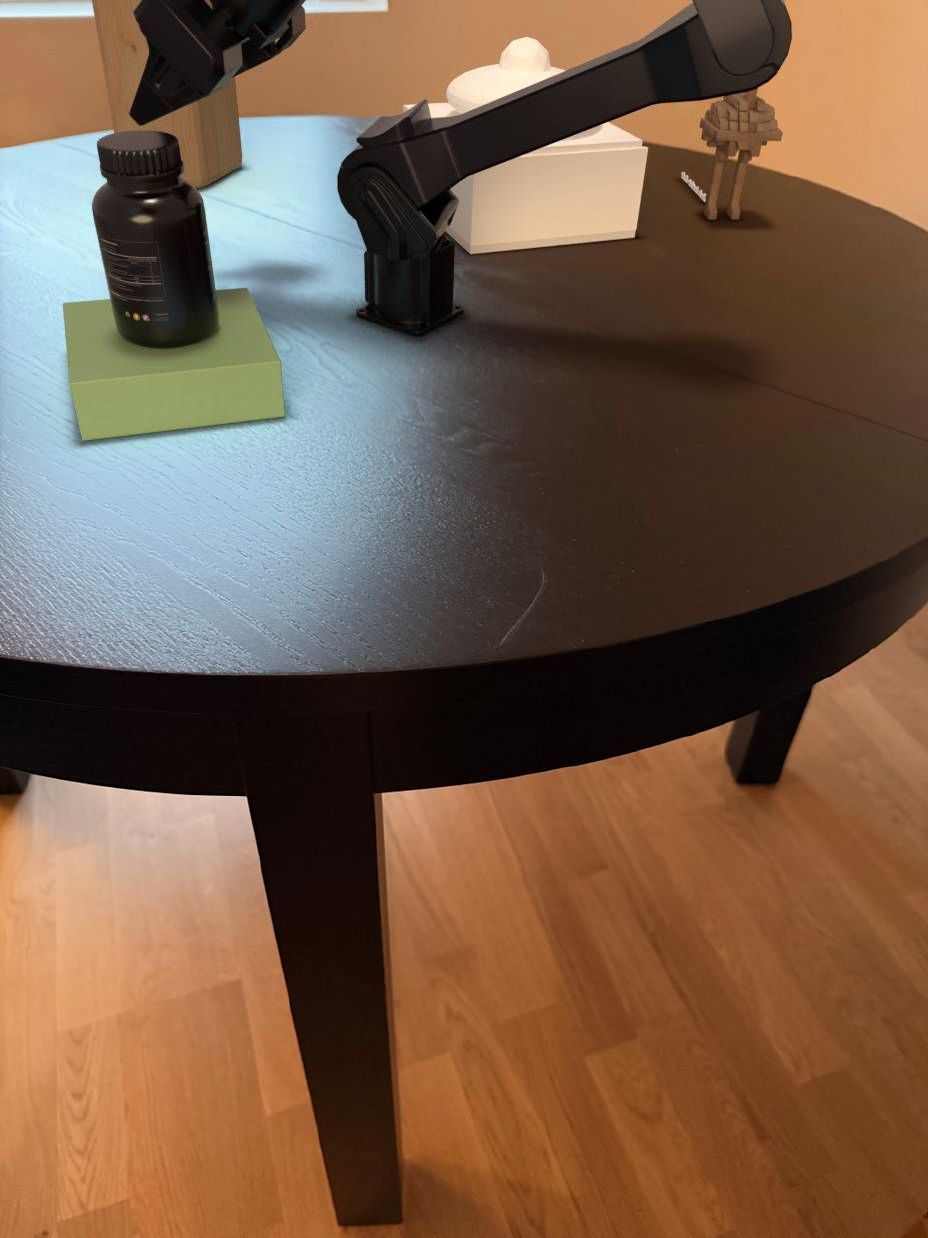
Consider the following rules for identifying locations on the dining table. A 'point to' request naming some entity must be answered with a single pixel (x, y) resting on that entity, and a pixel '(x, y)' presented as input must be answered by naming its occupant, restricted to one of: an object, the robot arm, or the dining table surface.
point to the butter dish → (543, 171)
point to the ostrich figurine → (735, 143)
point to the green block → (171, 373)
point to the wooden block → (198, 126)
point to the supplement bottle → (154, 242)
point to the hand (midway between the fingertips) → (161, 105)
